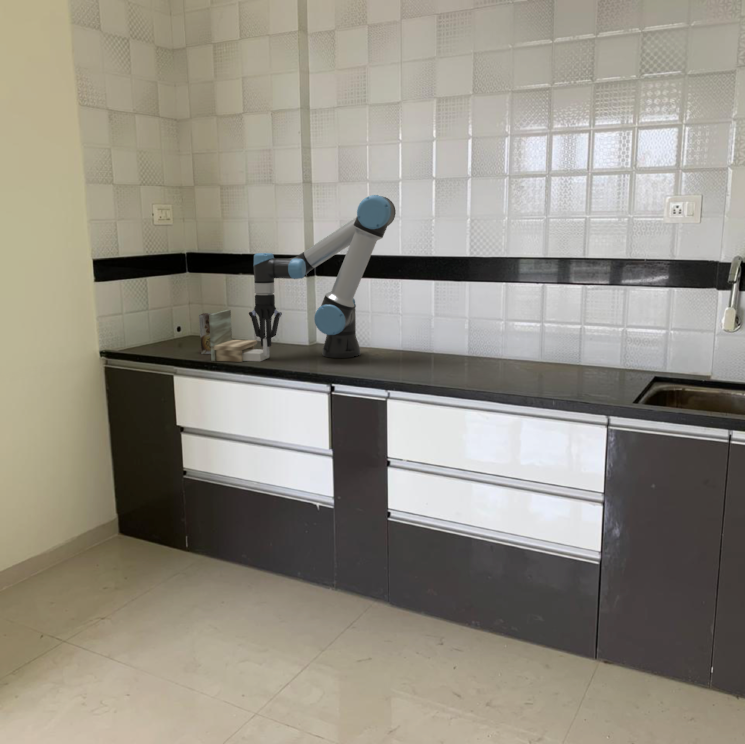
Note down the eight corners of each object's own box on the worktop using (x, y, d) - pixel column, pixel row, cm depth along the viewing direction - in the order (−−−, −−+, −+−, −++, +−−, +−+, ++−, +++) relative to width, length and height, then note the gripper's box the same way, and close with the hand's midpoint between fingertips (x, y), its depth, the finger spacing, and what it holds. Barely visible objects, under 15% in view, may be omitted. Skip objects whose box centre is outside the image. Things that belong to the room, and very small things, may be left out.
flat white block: (269, 357, 291) (269, 349, 291) (260, 361, 283) (260, 353, 282) (243, 356, 294) (243, 348, 293) (233, 360, 285) (233, 352, 285)
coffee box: (227, 351, 306) (225, 312, 302) (222, 354, 299) (220, 314, 296) (205, 351, 306) (203, 312, 303) (200, 354, 300) (198, 314, 297)
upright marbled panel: (257, 355, 296) (255, 310, 293) (241, 362, 281) (238, 315, 277) (229, 354, 299) (227, 309, 296) (211, 361, 284) (208, 314, 280)
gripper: (284, 293, 284) (285, 353, 288) (252, 292, 287) (254, 352, 292) (277, 295, 277) (278, 357, 281) (244, 294, 280) (247, 355, 284)
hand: (266, 354), depth 286 cm, fingers closed
